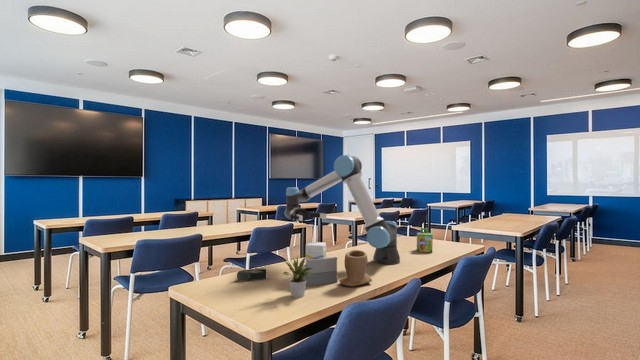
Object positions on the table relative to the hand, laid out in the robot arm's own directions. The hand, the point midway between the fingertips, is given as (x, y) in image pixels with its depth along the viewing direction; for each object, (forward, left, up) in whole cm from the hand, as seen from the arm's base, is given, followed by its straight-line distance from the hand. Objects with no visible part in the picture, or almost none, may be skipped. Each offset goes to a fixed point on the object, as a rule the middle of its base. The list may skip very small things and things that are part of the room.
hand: (314, 217), depth 180 cm
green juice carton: (-84, -12, -27) cm, 89 cm away
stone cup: (-7, +31, -27) cm, 42 cm away
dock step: (+6, +17, -27) cm, 32 cm away
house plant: (+23, +35, -27) cm, 50 cm away
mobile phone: (+34, +4, -28) cm, 44 cm away
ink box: (+6, +17, -22) cm, 28 cm away
